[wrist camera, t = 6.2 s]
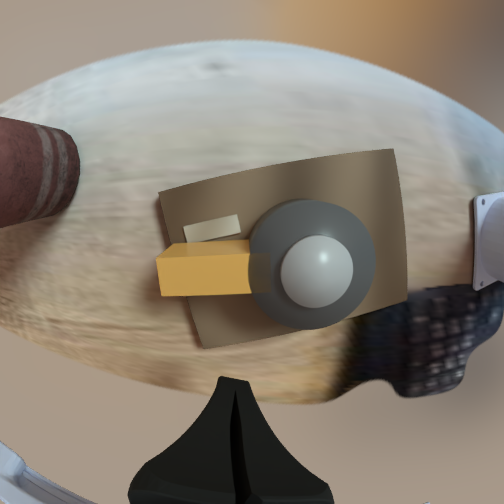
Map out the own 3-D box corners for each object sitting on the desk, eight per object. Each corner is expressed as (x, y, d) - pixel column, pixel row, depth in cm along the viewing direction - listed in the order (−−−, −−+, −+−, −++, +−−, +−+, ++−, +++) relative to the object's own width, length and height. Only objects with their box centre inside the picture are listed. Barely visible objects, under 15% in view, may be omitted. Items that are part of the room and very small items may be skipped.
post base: (385, 150, 15) (394, 148, 14) (400, 294, 17) (408, 301, 16) (163, 192, 15) (157, 192, 14) (205, 341, 18) (203, 350, 16)
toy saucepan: (352, 197, 14) (383, 202, 11) (348, 298, 16) (373, 327, 12) (170, 205, 14) (146, 211, 11) (181, 308, 16) (166, 340, 12)
